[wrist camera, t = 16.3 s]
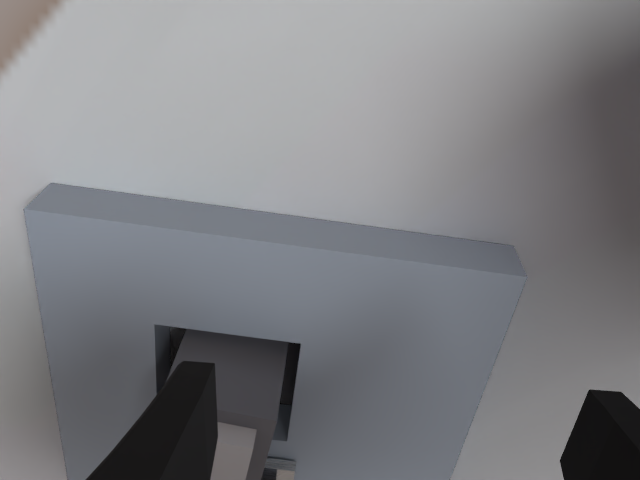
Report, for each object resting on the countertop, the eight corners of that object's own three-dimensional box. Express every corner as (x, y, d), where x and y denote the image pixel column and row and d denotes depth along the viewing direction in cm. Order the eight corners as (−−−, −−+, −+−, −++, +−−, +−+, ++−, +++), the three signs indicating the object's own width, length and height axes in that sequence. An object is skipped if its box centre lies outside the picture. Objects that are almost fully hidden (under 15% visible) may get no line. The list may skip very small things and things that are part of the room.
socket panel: (513, 245, 21) (527, 277, 20) (420, 509, 30) (424, 546, 28) (51, 183, 21) (23, 208, 19) (88, 466, 29) (71, 502, 27)
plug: (290, 326, 24) (274, 440, 19) (273, 392, 26) (254, 512, 21) (195, 305, 24) (152, 417, 19) (185, 375, 26) (144, 491, 21)
